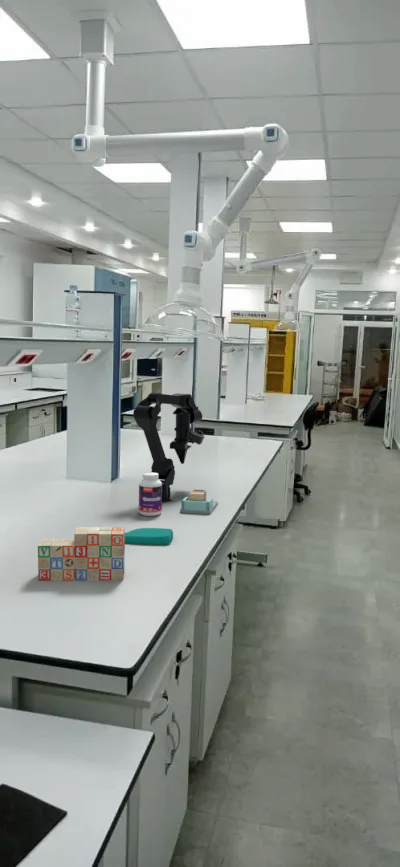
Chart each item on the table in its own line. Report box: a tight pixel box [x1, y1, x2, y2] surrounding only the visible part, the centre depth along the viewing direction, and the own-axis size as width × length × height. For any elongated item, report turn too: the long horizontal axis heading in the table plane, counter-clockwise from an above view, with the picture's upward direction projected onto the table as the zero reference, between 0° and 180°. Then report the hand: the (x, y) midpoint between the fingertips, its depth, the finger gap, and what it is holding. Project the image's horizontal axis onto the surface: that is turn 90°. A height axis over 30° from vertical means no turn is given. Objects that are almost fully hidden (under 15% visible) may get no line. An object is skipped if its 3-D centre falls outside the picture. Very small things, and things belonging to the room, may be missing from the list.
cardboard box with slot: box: [188, 489, 207, 502], centre depth 234 cm, size 6×5×6 cm
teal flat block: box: [125, 527, 174, 546], centre depth 199 cm, size 3×11×24 cm
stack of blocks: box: [37, 526, 126, 582], centre depth 165 cm, size 21×6×12 cm, turn 93°
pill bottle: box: [138, 472, 163, 517], centre depth 228 cm, size 8×8×14 cm
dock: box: [179, 496, 219, 515], centre depth 237 cm, size 15×11×4 cm
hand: (182, 463), depth 261 cm, fingers closed
